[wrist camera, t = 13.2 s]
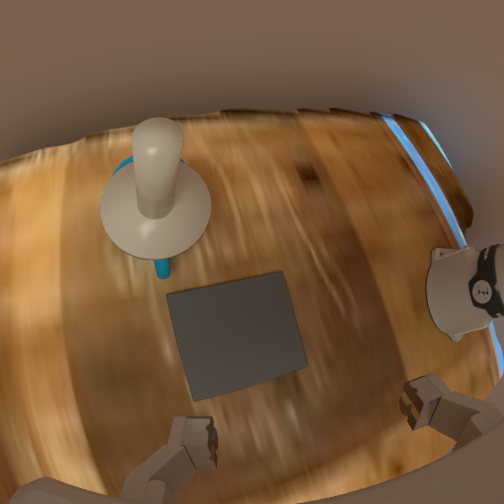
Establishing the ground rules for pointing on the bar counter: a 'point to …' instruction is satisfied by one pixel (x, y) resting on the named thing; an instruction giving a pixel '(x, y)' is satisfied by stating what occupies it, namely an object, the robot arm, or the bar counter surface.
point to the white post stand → (156, 196)
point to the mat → (236, 334)
